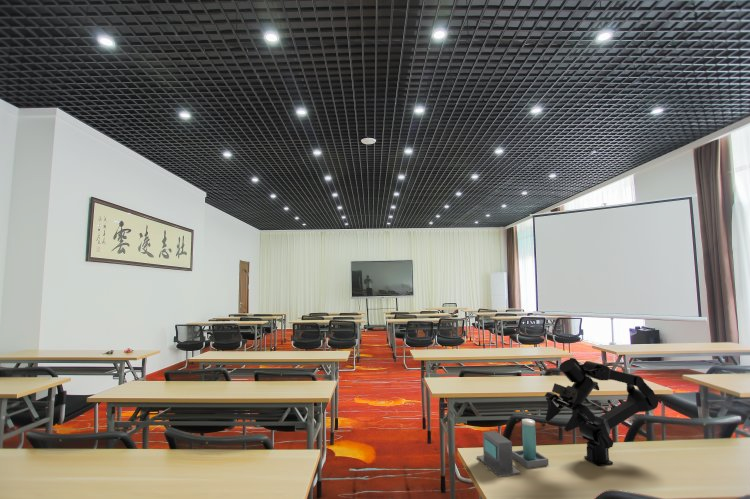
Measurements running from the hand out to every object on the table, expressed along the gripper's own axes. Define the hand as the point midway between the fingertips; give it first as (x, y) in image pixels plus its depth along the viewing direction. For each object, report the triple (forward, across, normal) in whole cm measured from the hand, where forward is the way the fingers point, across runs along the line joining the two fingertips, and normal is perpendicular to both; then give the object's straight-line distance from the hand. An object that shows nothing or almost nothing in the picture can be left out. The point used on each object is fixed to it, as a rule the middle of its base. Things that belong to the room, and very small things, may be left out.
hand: (555, 425), depth 129 cm
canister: (+14, -6, +4) cm, 16 cm away
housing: (+24, -6, -4) cm, 25 cm away
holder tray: (+14, -6, +5) cm, 16 cm away
